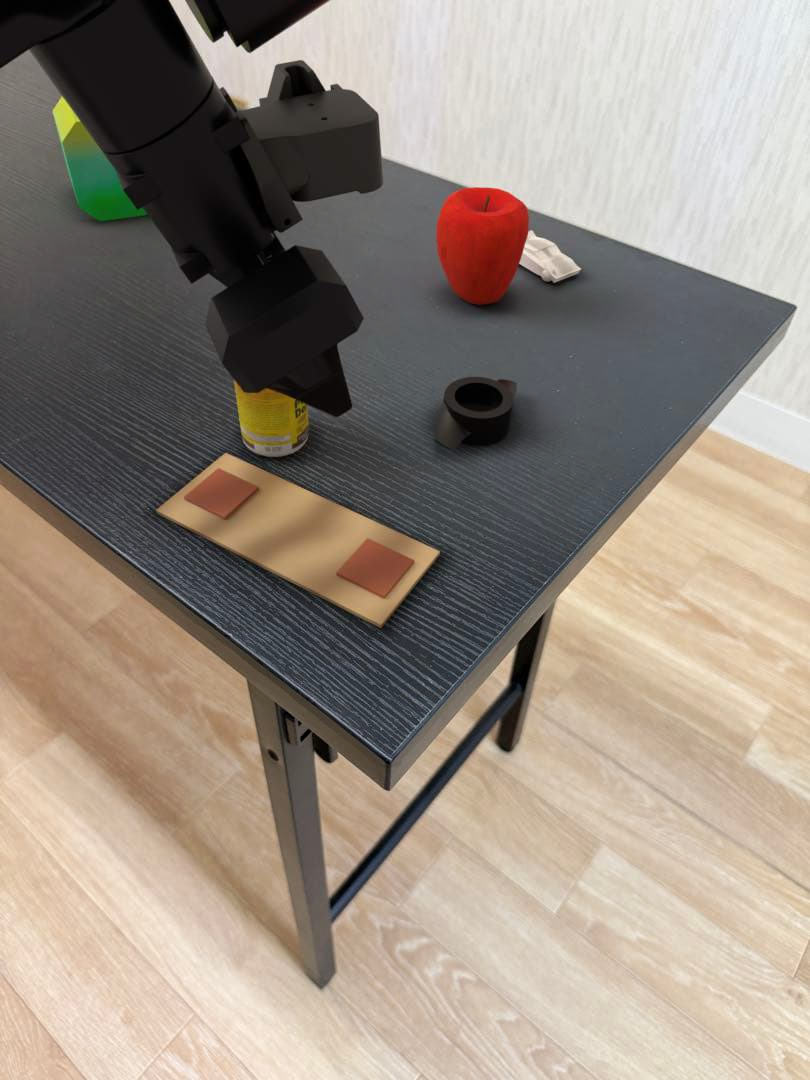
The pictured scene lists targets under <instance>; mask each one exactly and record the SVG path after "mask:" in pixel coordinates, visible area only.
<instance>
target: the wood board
mask: <svg viewBox="0 0 810 1080" xmlns="http://www.w3.org/2000/svg"><path fill="white" fill-rule="evenodd" d="M155 511H156V514H157V515H159V516H161V517H163V518H164V519H167V520H169V521H170V522H173V523H175V524H177V525H179V526H180V527H182V528H184V529H186V530H188V531H190V532H192V533H194V534H195V535H198V536H200V537H202V538H204V539H205V540H208V541H209V542H212V543H214V544H215V545H216V546H217V545H218V546H219V547H222V548H223V549H226V550H228V551H229V552H231V553H233V554H235V555H237V556H239V557H241V558H243V559H244V560H247V561H249V562H251V563H253V564H254V565H256V566H259V567H260V568H262V569H264V570H266V571H269V572H270V573H271V574H274V575H276V576H278V577H279V578H281V579H283V580H286V581H287V582H289V583H291V584H293V585H296V586H297V587H299V588H301V589H303V590H306V591H307V592H308V593H311V594H313V595H315V596H316V597H319V598H321V599H323V600H325V601H327V602H329V603H330V604H333V605H334V606H336V607H339V608H341V609H343V610H344V611H346V612H348V613H350V614H352V615H354V616H356V617H358V618H360V619H362V620H364V621H365V622H367V623H370V624H372V625H373V626H375V627H377V628H380V629H382V628H383V627H384V626H385V624H386V623H387V622H388V621H389V619H390V618H391V617H392V616H393V614H394V613H395V612H396V611H397V609H398V608H399V607H400V605H401V604H402V603H403V601H404V600H405V599H406V598H407V596H408V595H409V594H410V593H411V591H412V590H413V589H414V588H415V587H416V585H417V584H418V583H419V581H420V580H421V579H422V578H423V577H424V575H425V574H426V573H427V572H428V571H429V569H430V568H431V566H432V565H433V564H434V563H435V562H436V561H437V559H438V558H439V557H440V556H441V551H440V550H438V549H436V548H433V547H432V546H430V545H426V544H425V543H422V542H421V541H418V540H416V539H414V538H411V537H410V536H407V535H405V534H403V533H401V532H399V531H396V530H395V529H392V528H390V527H388V526H386V525H383V524H382V523H379V522H377V521H376V520H373V519H370V518H368V517H366V516H364V515H362V514H360V513H357V512H356V511H353V510H351V509H349V508H347V507H345V506H342V505H340V504H338V503H336V502H333V501H332V500H330V499H328V498H325V497H323V496H321V495H318V494H316V493H314V492H312V491H310V490H308V489H305V488H303V487H301V486H299V485H297V484H295V483H292V482H290V481H288V480H286V479H284V478H282V477H279V476H277V475H276V474H273V473H271V472H270V471H266V470H264V469H262V468H259V467H258V466H256V465H253V464H252V463H250V462H247V461H244V460H243V459H241V458H238V457H236V456H234V455H232V454H230V453H227V452H224V453H223V454H222V455H221V456H220V457H218V458H217V459H215V461H214V462H212V463H211V464H210V465H209V466H207V467H206V468H205V469H204V470H203V471H201V472H200V473H199V474H198V475H197V476H195V477H194V478H193V479H192V480H191V481H189V482H188V483H187V484H186V485H184V486H183V487H182V488H181V489H179V491H177V492H176V493H175V494H174V495H172V496H171V497H170V498H169V499H168V500H166V501H165V502H164V503H162V504H161V505H160V506H159V507H158V508H156V509H155Z"/></svg>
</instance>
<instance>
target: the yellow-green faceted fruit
mask: <svg viewBox="0 0 810 1080" xmlns="http://www.w3.org/2000/svg"><path fill="white" fill-rule="evenodd" d="M52 114H53V118H54V123H55V126H56V131H57V134H58V138H59V143H60V146H61V149H62V154H63V157H64V160H65V165H66V168H67V172H68V176H69V179H70V183H71V185H72V189H73V192H74V195H75V199H76V202H77V206H78V208H79V209H80V210H82V211H83V212H85V213H86V214H88V215H89V216H91V217H92V218H94V219H95V220H97V221H98V222H106V221H114V220H121V219H128V218H137V217H143V216H148V214H147V213H146V212H145V210H144V209H143V207H142V208H140V209H139V210H137V209H136V207H135V206H134V205H133V203H132V202H131V200H130V199H129V198H128V196H127V195H126V194H125V192H124V191H123V189H122V186H121V184H120V181H119V178H118V176H117V173H116V170H115V169H114V167H113V166H112V165H111V163H110V162H109V160H108V159H107V158H106V156H105V155H104V154H103V152H102V151H101V149H100V148H99V146H98V145H97V144H96V142H95V141H94V139H93V138H92V137H91V135H90V134H89V132H88V131H87V130H86V128H85V127H84V126H83V124H82V123H81V121H80V120H79V119H78V117H77V116H76V114H75V113H74V112H73V110H72V109H71V108H70V106H69V105H68V103H67V102H66V101H65V99H64V98H63V96H62V95H61V97H60V99H59V100H58V101H57V103H56V104H55V107H54V108H53V109H52Z"/></svg>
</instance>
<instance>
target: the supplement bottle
mask: <svg viewBox="0 0 810 1080" xmlns="http://www.w3.org/2000/svg"><path fill="white" fill-rule="evenodd" d="M233 383H234V390H235V397H236V405H237V412H238V419H239V427H240V434H241V439H242V442H243V443H244V445H245V447H247V449H248V450H249V451H251V452H252V453H254V454H257V455H259V456H263V457H266V458H267V457H268V458H279V457H285V456H288V455H291V454H294V453H295V452H298V451H299V450H300V449H302V447H304V445H305V444H306V442H307V441H308V439H309V434H310V430H309V429H310V428H309V426H310V425H309V409H308V405H307V404H305V403H302V402H300V401H298V400H296V399H293V398H291V397H288V396H286V395H283V394H281V393H278V392H275V391H272V390H269V389H267V388H265V389H264V390H262V391H261V392H259V393H244V392H243V390H242V389H241V388H240V386H239V385H238V384H237V382H236V381H235V380H234V379H233Z"/></svg>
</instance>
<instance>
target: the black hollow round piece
mask: <svg viewBox="0 0 810 1080" xmlns="http://www.w3.org/2000/svg"><path fill="white" fill-rule="evenodd" d="M517 384H518V383H517V382H515V381H514V380H511V379H510V380H509V379H503V378H502V379H500V378H499V379H497V380H495V379H492V378H489V377H483V376H467V377H462V378H458V379H456V380H454V381H452V382H451V383H450V384H448V385H447V386H446V388H445V389H444V394H443V404H442V407H441V408H440V412H439V415H438V418H437V421H436V427H435V432H434V438H433V440H434V441H435V442H436V443H438V444H439V445H441V446H442V447H444V448H446V449H448V450H449V451H451V452H455V450H456V449H457V447H458V446H459V445H460V444H463V445H466V446H471V447H486V446H487V447H488V446H491V445H495V444H497V443H500V442H501V441H502V440H503V439H504V438H506V437H507V435H508V433H509V430H510V426H511V419H512V413H513V406H514V397H515V395H516V393H517V386H518V385H517Z"/></svg>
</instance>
